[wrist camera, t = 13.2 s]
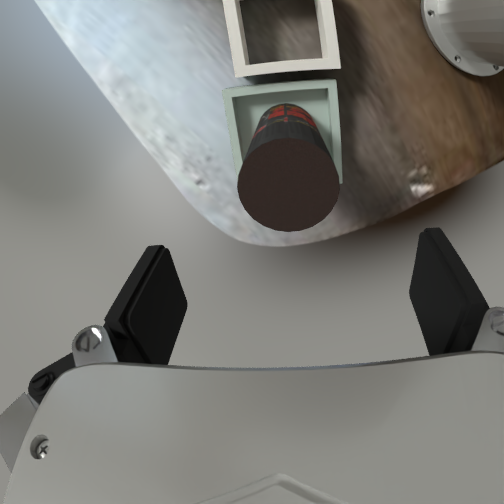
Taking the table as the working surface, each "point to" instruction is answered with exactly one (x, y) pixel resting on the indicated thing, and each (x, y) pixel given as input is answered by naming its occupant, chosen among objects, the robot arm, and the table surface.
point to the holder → (245, 69)
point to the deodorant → (288, 171)
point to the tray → (293, 92)
